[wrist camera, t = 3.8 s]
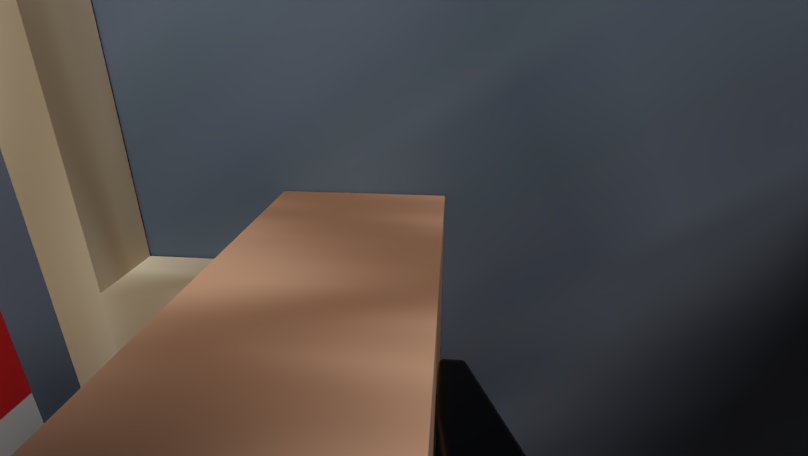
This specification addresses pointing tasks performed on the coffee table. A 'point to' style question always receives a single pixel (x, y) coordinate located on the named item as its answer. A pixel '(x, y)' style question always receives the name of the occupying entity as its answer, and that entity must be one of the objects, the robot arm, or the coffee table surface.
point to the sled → (212, 288)
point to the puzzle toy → (14, 399)
